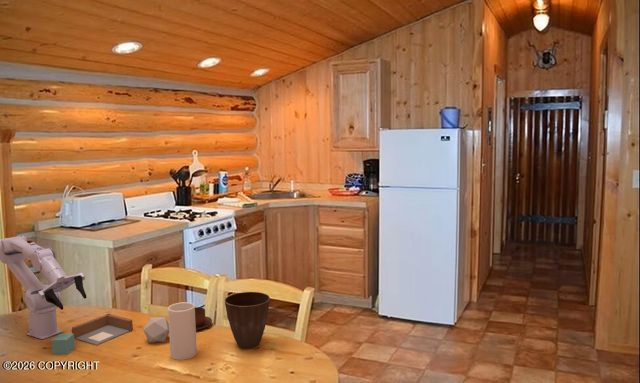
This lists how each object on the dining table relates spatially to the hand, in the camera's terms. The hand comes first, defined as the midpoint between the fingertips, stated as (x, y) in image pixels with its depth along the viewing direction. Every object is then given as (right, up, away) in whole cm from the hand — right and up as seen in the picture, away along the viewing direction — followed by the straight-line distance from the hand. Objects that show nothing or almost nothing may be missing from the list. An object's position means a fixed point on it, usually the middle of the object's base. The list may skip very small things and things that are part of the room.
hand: (73, 302), depth 170 cm
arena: (+4, -14, +14) cm, 20 cm away
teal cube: (-3, -16, 0) cm, 17 cm away
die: (+25, -15, +8) cm, 31 cm away
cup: (+37, -16, -4) cm, 41 cm away
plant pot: (+57, -15, +3) cm, 59 cm away
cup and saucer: (+35, -14, +20) cm, 43 cm away
